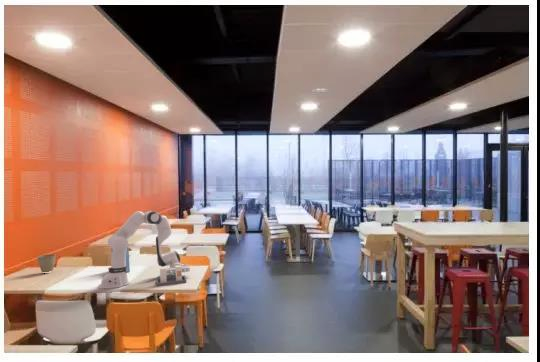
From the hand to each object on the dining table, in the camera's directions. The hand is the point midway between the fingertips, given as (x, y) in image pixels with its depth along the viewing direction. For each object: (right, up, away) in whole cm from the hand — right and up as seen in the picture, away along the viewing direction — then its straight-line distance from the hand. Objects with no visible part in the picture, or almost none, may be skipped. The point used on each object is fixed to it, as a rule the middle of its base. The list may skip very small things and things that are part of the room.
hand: (178, 272), depth 312 cm
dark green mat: (-11, -7, +11) cm, 17 cm away
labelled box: (+1, -7, -3) cm, 7 cm away
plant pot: (-132, -11, +44) cm, 140 cm away
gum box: (-62, -9, +40) cm, 74 cm away
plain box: (-10, -7, -7) cm, 14 cm away
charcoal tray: (-4, -7, -5) cm, 10 cm away
